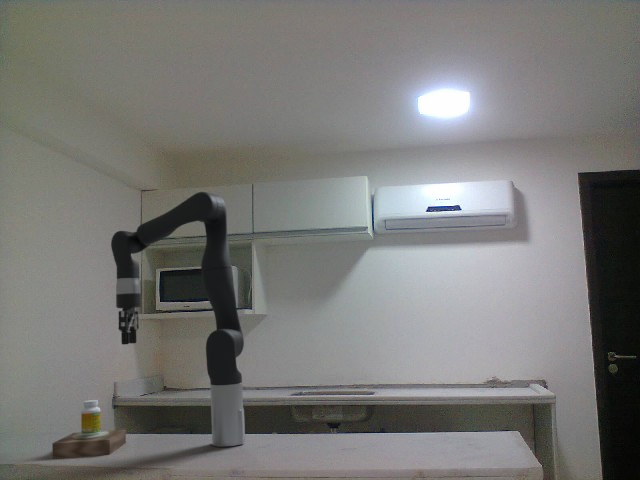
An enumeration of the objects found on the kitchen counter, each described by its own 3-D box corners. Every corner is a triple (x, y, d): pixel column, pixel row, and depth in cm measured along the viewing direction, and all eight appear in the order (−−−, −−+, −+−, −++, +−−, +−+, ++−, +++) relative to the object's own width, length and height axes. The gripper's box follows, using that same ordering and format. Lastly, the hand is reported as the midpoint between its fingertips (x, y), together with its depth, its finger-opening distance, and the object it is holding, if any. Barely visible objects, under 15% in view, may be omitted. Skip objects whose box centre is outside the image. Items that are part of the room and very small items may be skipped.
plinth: (125, 442, 188) (125, 427, 189) (109, 454, 172) (109, 437, 173) (73, 446, 188) (73, 431, 188) (52, 458, 172) (52, 441, 172)
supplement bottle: (94, 435, 177) (94, 401, 179) (77, 436, 178) (77, 402, 180) (104, 432, 183) (103, 399, 184) (88, 432, 184) (87, 399, 185)
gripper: (134, 291, 189) (135, 344, 187) (145, 293, 203) (146, 342, 201) (109, 292, 189) (110, 345, 187) (123, 294, 203) (123, 343, 201)
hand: (129, 343), depth 194 cm, fingers open, 8 cm apart
